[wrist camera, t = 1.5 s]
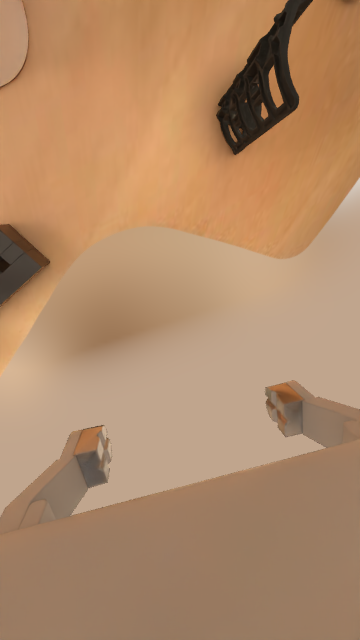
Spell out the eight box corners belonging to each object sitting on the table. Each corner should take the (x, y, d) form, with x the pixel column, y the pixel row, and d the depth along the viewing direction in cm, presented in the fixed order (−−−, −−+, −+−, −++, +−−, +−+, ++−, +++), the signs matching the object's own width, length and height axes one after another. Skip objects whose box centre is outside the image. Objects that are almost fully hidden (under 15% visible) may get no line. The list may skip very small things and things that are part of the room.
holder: (255, 157, 42) (338, 109, 24) (213, 156, 41) (267, 104, 23) (263, 75, 38) (372, -59, 20) (217, 72, 37) (287, -73, 19)
